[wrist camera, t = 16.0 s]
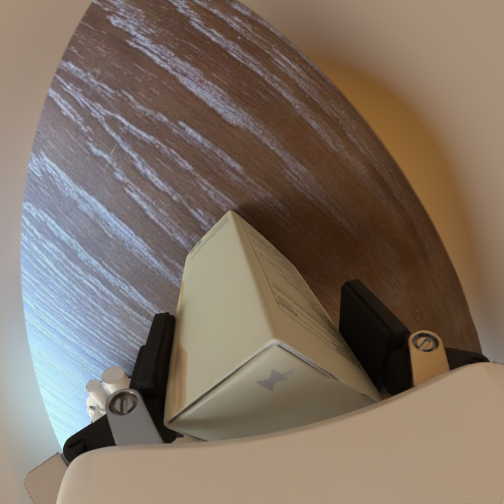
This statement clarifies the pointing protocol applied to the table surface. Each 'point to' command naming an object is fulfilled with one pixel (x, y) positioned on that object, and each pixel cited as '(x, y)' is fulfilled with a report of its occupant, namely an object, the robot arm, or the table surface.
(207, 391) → the cosmetic box
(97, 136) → the table surface
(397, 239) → the table surface
